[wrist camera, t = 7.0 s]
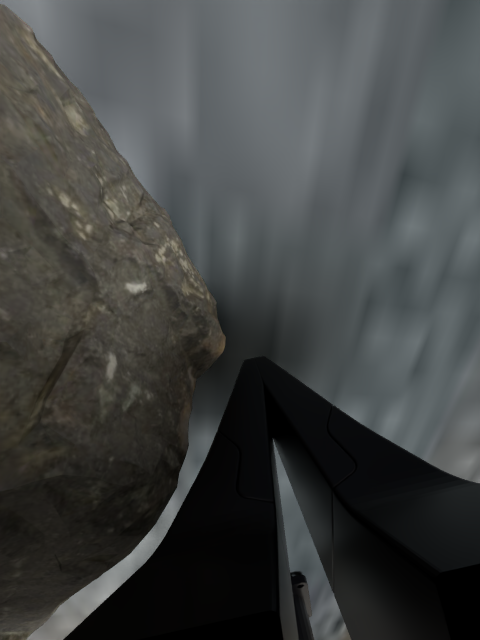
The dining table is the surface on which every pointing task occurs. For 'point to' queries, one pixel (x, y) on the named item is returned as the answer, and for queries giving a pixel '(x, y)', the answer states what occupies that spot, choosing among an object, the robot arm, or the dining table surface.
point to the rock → (83, 342)
